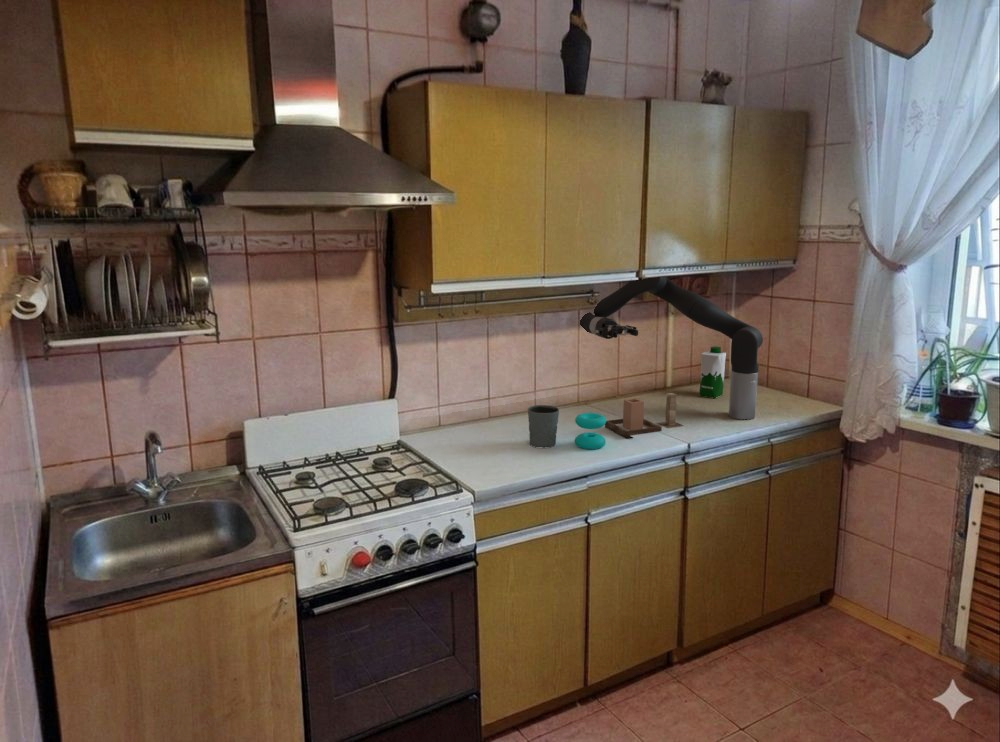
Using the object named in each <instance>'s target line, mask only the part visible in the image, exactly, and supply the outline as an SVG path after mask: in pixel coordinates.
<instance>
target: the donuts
mask: <svg viewBox="0 0 1000 742" xmlns="http://www.w3.org/2000/svg"><path fill="white" fill-rule="evenodd" d="M574 421H575V424H576V425H577V426H578V427H579V428H581V429H586V430H598V429H601V428H603V427H605V424H606V421H607V418H606V417H605V416H604V415H602V414H600V413H596V412H584V413H581V414H578V415H577V416H576V417H575V419H574ZM606 442H607V441H606V438H605V437H604V436H603V435H601V434H599V433H597V432H588V431H587V432H583V433H580V434H578V435H576V436H575V439H574V443H575V445H576V446H577V447H579V448H580V449H585V450H599V449H602V448H603V447H605V445H606ZM598 448H599V449H598Z"/></svg>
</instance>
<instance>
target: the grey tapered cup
mask: <svg viewBox="0 0 1000 742" xmlns="http://www.w3.org/2000/svg"><path fill="white" fill-rule="evenodd" d="M559 413H560V408H559V407H557V406H553V405H548V404H547V405H546V404H537V405H531V406H529V407H528V408H527V414H528V417H527V418H528V432H529V434H528V436H529V445H530V446H531V445H532V446H531V447H533V446H535V447H534V448H536V447H550V448H552V447H551V446H553V447H555V446H556V442H557V433H558V432H557V431H558V423H559V417H560V416H559V415H560V414H559ZM554 445H555V446H554Z"/></svg>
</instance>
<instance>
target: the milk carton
mask: <svg viewBox="0 0 1000 742" xmlns="http://www.w3.org/2000/svg"><path fill="white" fill-rule="evenodd" d="M726 355H727V352H723V351H722V347H721V346H710V350H707V351H704V352H701V353H700V357H701V358H700V359H701V364H700V365H701V366H700V381H699V382H700V383H699V395H701V396H700V397H703V396H707V397H706V398H709V397H713V398H712V399H715V398H716V397H718V396H720V395H722V394H724V387H725V386H724V385H725V371H726V369H725V366H726V359H727V358H726V357H727V356H726ZM722 396H723V395H722ZM720 397H721V396H720ZM718 398H719V397H718ZM716 399H717V398H716Z"/></svg>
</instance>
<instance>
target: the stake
mask: <svg viewBox="0 0 1000 742" xmlns="http://www.w3.org/2000/svg"><path fill="white" fill-rule="evenodd" d="M665 402H666V404H665V420H664V421H659V422H656V425H658V426H661V427H664V428H666V429H671V428H673V429H674V428H679V427H685V425H683V424H681V423H680V422H677V421H676V412H677V394H675V393H672V392H671V393H669V392H668V393H666V401H665Z"/></svg>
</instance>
